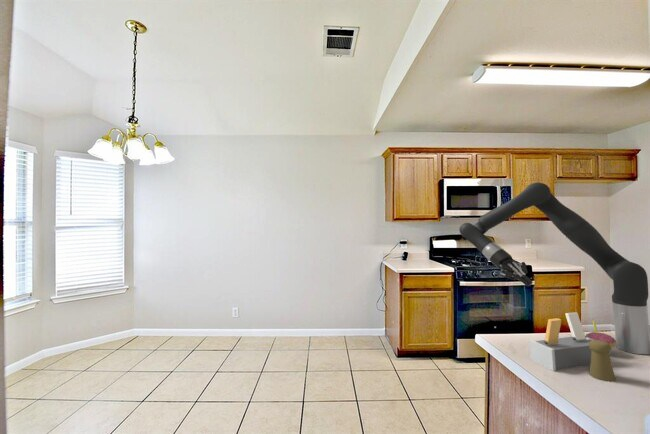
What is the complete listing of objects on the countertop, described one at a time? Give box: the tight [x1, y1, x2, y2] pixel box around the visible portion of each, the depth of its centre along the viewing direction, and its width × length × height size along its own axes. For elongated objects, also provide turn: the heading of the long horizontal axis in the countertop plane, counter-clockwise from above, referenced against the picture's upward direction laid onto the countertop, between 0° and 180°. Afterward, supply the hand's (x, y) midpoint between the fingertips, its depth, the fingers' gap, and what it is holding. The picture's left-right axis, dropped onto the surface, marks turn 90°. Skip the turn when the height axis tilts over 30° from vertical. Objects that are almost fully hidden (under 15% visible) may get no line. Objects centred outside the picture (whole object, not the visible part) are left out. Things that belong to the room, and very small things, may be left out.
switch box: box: [528, 336, 593, 372], centre depth 104 cm, size 21×9×7 cm, turn 99°
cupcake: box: [585, 318, 617, 356], centre depth 110 cm, size 9×8×12 cm
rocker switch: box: [564, 311, 586, 340], centre depth 106 cm, size 4×1×9 cm, turn 99°
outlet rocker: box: [544, 317, 562, 344], centre depth 102 cm, size 4×1×9 cm, turn 99°
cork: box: [589, 340, 616, 383], centre depth 93 cm, size 6×6×11 cm
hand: (530, 284), depth 117 cm, fingers closed
